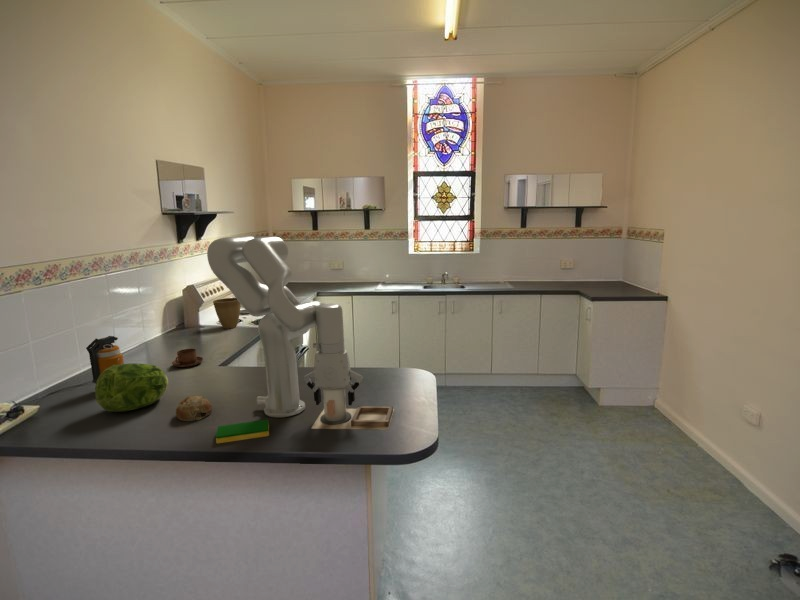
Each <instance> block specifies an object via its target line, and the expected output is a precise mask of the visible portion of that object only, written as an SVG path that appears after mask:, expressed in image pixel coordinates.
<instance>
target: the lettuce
mask: <svg viewBox="0 0 800 600" xmlns="http://www.w3.org/2000/svg"><path fill="white" fill-rule="evenodd" d="M168 387H169V378H168V376H167V374H165V372H164V370H163V369H162V368H161V367H159V366H157V365H154V364H149V363H139V362H138V363H137V362H135V363H132V362H131V363H124V364H121V365H114V366H111V367H108V368H107V369H106V370H104V371H103V372H102V373H101V374H100V375H99V377H98V379H97V382H96V383H95V388H94V392H95V393H94V396H95V399H96V402H97V403H98V405H99V406H100V407H101V408H102V409H103V410H105V411H107V412H116V413H118V412H119V413H123V412H124V413H125V412H129V411H133V410H137V409H142V408H145V407H147V406H148V407H149V406H150V405H152V404H154V403H155V402H156V401H157V400H160V398H162V396H163V395H164V393H166V392H167V389H168Z"/></svg>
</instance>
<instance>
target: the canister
mask: <svg viewBox="0 0 800 600" xmlns="http://www.w3.org/2000/svg"><path fill="white" fill-rule="evenodd" d="M118 338H119V337H117V336H115V335H114V336H113V335H107V337H102V338H99V339H98V338H95V339H94V340H93V341H92V342H91V343H90V344H88V345H87V347H85V349H86V350H87V352H88V354H89V362H90V367H91V373H92V383H94V384H96V382H97V379H98V377H99V375H100V374H101V373H102V372H103V371H104V370H106V369H107V368H108V367H111V366H114V365H121V364H125V363H124V356H123V353H121V348H120V347H119V345H116V344H115V341H118ZM114 344H115V345H114Z"/></svg>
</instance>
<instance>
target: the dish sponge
mask: <svg viewBox="0 0 800 600" xmlns="http://www.w3.org/2000/svg"><path fill="white" fill-rule="evenodd" d="M268 436H270V423H269V419H261V420H253V421H247V422H239V423H232V424H231V423H230V424H226V425H219V426H217V430H216V435H215V443H216V444H223V443H231V442H237V441H243V440H244V441H245V440H249V439H250V440H251V439H257V438H263V437H268Z"/></svg>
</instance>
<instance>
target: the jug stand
mask: <svg viewBox="0 0 800 600" xmlns="http://www.w3.org/2000/svg"><path fill="white" fill-rule="evenodd" d="M394 411H395V408H394V406H384V405H383V406H377V405H376V406H373V405H372V406H371V405H369V406H368V405H367V406H363V405H362V406H361V405H360V406H357V408H346V413H347V417H346V418H345V419H343V420H340V421H327V420H326V419H325V414H324V408H323V410H322V411H321V412H320V414H319V415H318V417H317V418H316V420H315V421H314V423H313V424H312V426H311V429H315V430H325V429H327V430H379V431H380V430H382V431H383V430H387V431H388V430H389V429H390V425H391V423H392V422H391V421H392V418H393V415H394ZM311 429H310V430H311Z"/></svg>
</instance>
